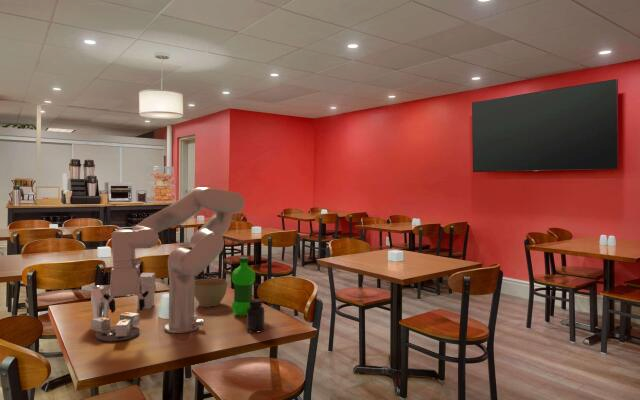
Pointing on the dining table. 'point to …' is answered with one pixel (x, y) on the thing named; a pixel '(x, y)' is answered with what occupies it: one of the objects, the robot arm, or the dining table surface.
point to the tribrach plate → (111, 336)
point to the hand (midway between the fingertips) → (127, 310)
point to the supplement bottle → (255, 316)
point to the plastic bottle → (242, 286)
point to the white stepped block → (130, 318)
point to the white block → (100, 324)
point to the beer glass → (99, 302)
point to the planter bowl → (210, 291)
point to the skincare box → (149, 299)
